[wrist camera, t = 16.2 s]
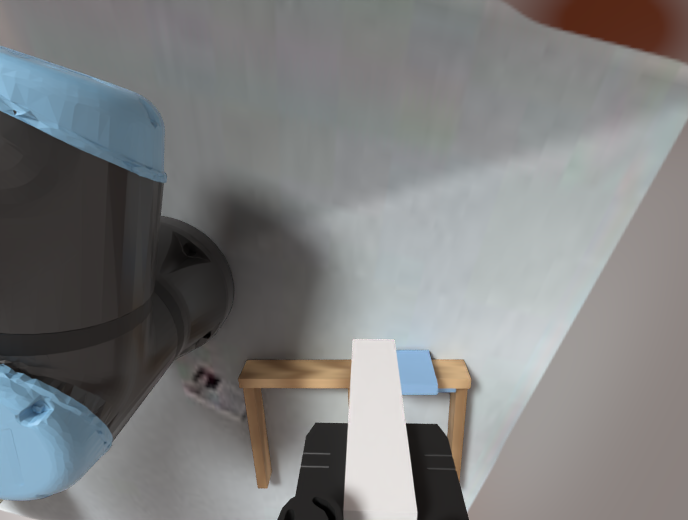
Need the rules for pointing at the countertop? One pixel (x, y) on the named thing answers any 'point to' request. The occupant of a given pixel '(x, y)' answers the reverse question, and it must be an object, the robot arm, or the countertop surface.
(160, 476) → the countertop surface
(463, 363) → the rack
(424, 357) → the tab
